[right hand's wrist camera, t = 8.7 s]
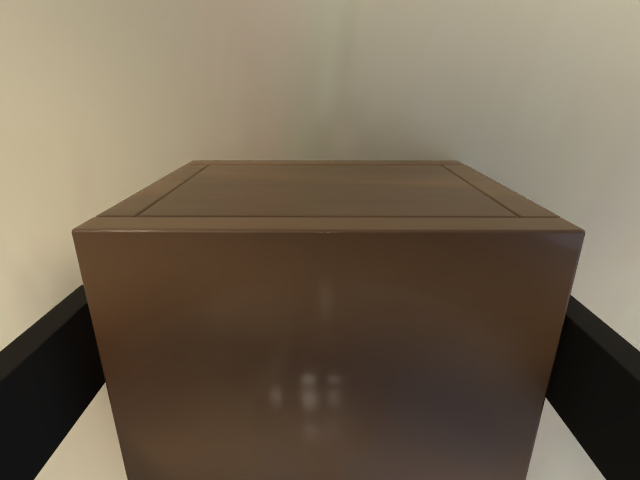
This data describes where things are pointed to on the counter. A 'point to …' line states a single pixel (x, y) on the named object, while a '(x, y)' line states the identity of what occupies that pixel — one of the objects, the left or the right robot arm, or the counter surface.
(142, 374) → the cabinet
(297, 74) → the counter surface
